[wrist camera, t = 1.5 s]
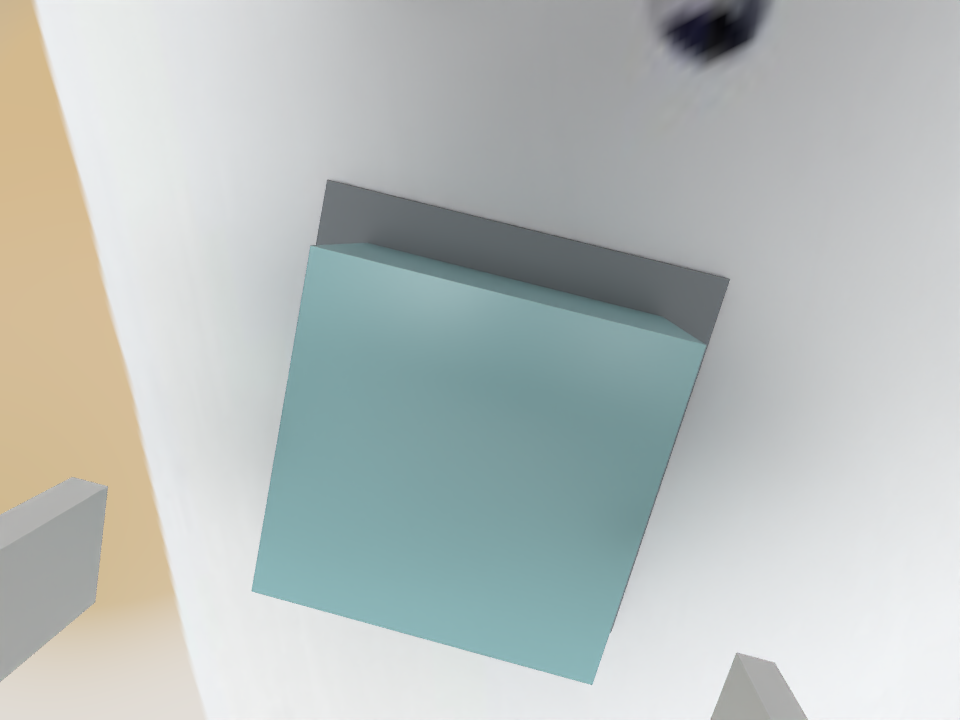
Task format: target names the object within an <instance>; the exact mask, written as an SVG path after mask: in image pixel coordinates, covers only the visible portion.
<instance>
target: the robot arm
mask: <svg viewBox="0 0 960 720" xmlns="http://www.w3.org/2000/svg"><path fill="white" fill-rule="evenodd" d="M107 489H108V486H105V485H101V484H97V483H93V482H89V481H86V480H82V479H78V478H74V477H71V478H69V479H68V480H66V481H64V482H62V483H60V484H58V485H56V486H54V487H52V488H50V489H48V490H46V491H45V492H43V493H41V494H39V495H37V496H35V497H33V498H31V499H29V500H27V501H26V502H24V503H22V504H20V505H18V506H16V507H14V508H12V509H10V510H8V511H6V512H5V513H3V514H1V515H0V682H1V681H2V680H3V679H4V678H6V677H7V676H8V675H9V674H10V673H11V672H13V671H14V670H15V669H16V668H17V667H19V666H20V665H21V664H22V663H23V662H25V661H26V660H27V659H28V658H29V657H31V656H32V655H33V654H34V653H35V652H36V651H38V650H39V649H40V648H41V647H42V646H43V645H45V644H46V643H47V642H48V641H50V640H51V639H52V638H53V637H54V636H56V635H57V634H58V633H59V632H60V631H61V630H63V629H64V628H65V627H66V626H67V625H69V624H70V623H71V622H72V621H73V620H75V619H76V618H77V617H78V616H79V615H80V614H82V612H84V611H85V610H86V609H88V608H89V607H90V606H91V605H92V604H94V603H95V599H96V590H97V589H96V588H97V580H98V572H99V562H100V552H101V544H102V535H103V525H104V516H105V508H106V498H107ZM711 720H808V719H807V717H806V716H805V714H804V712H803V710H802V709H801V707H800V705H799V704H798V702H797V700H796V698H795V697H794V695H793V693H792V692H791V690H790V688H789V686H788V685H787V683H786V681H785V680H784V678H783V676H782V674H781V673H780V671H779V669H778V668H777V666H776V664H775V663H774V662H770V661H767V660H763V659H759V658H755V657H751V656H748V655H744V654H740V653H736V656H735V658H734V661H733V663H732V666H731V669H730V671H729V674H728V676H727V679H726V681H725V684H724V686H723V689H722V692H721V694H720V697H719V699H718V702H717V704H716V707H715V710H714V712H713V715H712V717H711Z"/></svg>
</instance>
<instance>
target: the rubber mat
mask: <svg viewBox="0 0 960 720" xmlns="http://www.w3.org/2000/svg"><path fill="white" fill-rule="evenodd" d="M352 243H370V244H374V245H378V246H382V247H386V248H390V249H394V250H398V251H402V252H406V253H410V254H414V255H418V256H422V257H426V258H430V259H434V260H438V261H442V262H446V263H450V264H454V265H458V266H462V267H466V268H470V269H474V270H478V271H482V272H486V273H490V274H494V275H498V276H502V277H506V278H510V279H514V280H518V281H522V282H526V283H530V284H534V285H538V286H542V287H546V288H550V289H554V290H558V291H562V292H566V293H570V294H574V295H578V296H582V297H586V298H590V299H594V300H598V301H602V302H606V303H610V304H614V305H618V306H622V307H626V308H630V309H634V310H638V311H642V312H646V313H650V314H654V315H658V316H662V317H664V318H665V319H667V320H668V321H670V322H672V323H673V324H675V325H676V326H678V327H679V328H681V329H682V330H684V331H685V332H687V333H689V334H690V335H692V336H693V337H695V338H696V339H698V340H699V341H701V342H703V343H704V344H706V348H705V351H704V354H703V357H702V360H701V363H700V366H699V369H698V372H697V375H696V378H695V381H694V384H693V387H694V385H695V382H696V379H697V376H698V373H699V370H700V367H701V364H702V361H703V358H704V355H705V352H706V349H707V346H708V343H709V340H710V337H711V334H712V331H713V328H714V325H715V322H716V319H717V316H718V313H719V310H720V307H721V304H722V301H723V298H724V295H725V292H726V290H727V287H728V284H729V281H730V279H728V278H724V277H720V276H715V275H711V274H707V273H703V272H699V271H695V270H691V269H687V268H683V267H679V266H675V265H671V264H667V263H663V262H659V261H655V260H651V259H647V258H643V257H638V256H634V255H630V254H626V253H622V252H618V251H614V250H610V249H606V248H602V247H598V246H594V245H590V244H586V243H582V242H578V241H574V240H570V239H566V238H561V237H557V236H553V235H549V234H545V233H541V232H537V231H533V230H529V229H525V228H521V227H517V226H513V225H509V224H505V223H501V222H497V221H493V220H488V219H484V218H480V217H476V216H472V215H468V214H464V213H460V212H456V211H452V210H448V209H444V208H440V207H436V206H432V205H428V204H424V203H420V202H416V201H411V200H407V199H403V198H399V197H395V196H391V195H387V194H383V193H379V192H375V191H371V190H367V189H363V188H359V187H355V186H351V185H347V184H343V183H339V182H334V181H330V180H327V184H326V190H325V196H324V201H323V207H322V213H321V219H320V225H319V230H318V236H317V242H316V245H332V244H352ZM693 387H692V390H693ZM692 390H691V393H692ZM691 393H690V396H691ZM690 396H689V399H690ZM689 399H688V402H689ZM688 402H687V405H688ZM687 405H686V408H687ZM686 408H685V411H686ZM685 411H684V414H685ZM684 414H683V417H684ZM683 417H682V419H681V422H680V425H679V428H678V431H677V434H676V437H675V440H674V443H673V446H672V449H671V452H670V455H669V458H668V461H667V464H666V467H665V470H664V473H663V476H662V479H661V482H662V480H663V477H664V474H665V471H666V468H667V465H668V462H669V459H670V456H671V453H672V450H673V447H674V444H675V441H676V438H677V435H678V432H679V429H680V426H681V423H682V420H683ZM661 482H660V485H661ZM660 485H659V488H660ZM659 488H658V491H659ZM658 491H657V494H658ZM657 494H656V497H657ZM656 497H655V500H656ZM655 500H654V503H655ZM654 503H653V506H654ZM653 506H652V509H653ZM652 509H651V512H652ZM651 512H650V515H651ZM650 515H649V518H650ZM649 518H648V521H649ZM648 521H647V524H648ZM647 524H646V527H647ZM646 527H645V529H644V532H643V535H642V538H641V541H640V544H639V547H638V550H637V553H636V556H635V559H634V562H633V565H632V568H631V571H630V574H629V577H630V575H631V572H632V569H633V566H634V563H635V560H636V557H637V554H638V551H639V548H640V545H641V542H642V539H643V536H644V533H645V530H646ZM629 577H628V580H629ZM628 580H627V583H628ZM627 583H626V586H627ZM626 586H625V589H626ZM625 589H624V592H625ZM624 592H623V595H624ZM623 595H622V598H623ZM622 598H621V601H622ZM621 601H620V604H621ZM620 604H619V607H620ZM619 607H618V610H619ZM618 610H617V613H618ZM617 613H616V616H617ZM616 616H615V619H616ZM615 619H614V622H615ZM614 622H613V625H614ZM613 625H612V628H613ZM612 628H611V631H612ZM611 631H610V633H611Z"/></svg>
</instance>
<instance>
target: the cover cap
mask: <svg viewBox="0 0 960 720" xmlns="http://www.w3.org/2000/svg"><path fill="white" fill-rule="evenodd" d="M705 348H706V344H704V343H703V342H701V341H699V340H698V339H696V338H695V337H693V336H692V335H690V334H689V333H687V332H685V331H684V330H682V329H681V328H679V327H678V326H676V325H675V324H673V323H672V322H670V321H668V320H667V319H665V318H664V317H662V316H658V315H654V314H650V313H646V312H642V311H638V310H634V309H630V308H626V307H622V306H618V305H614V304H610V303H606V302H602V301H598V300H594V299H590V298H586V297H582V296H578V295H574V294H570V293H566V292H562V291H558V290H554V289H550V288H546V287H542V286H538V285H534V284H530V283H526V282H522V281H518V280H514V279H510V278H506V277H502V276H498V275H494V274H490V273H486V272H482V271H478V270H474V269H470V268H466V267H462V266H458V265H454V264H450V263H446V262H442V261H438V260H434V259H430V258H426V257H422V256H418V255H414V254H410V253H406V252H402V251H398V250H394V249H390V248H386V247H382V246H378V245H374V244H370V243H352V244H332V245H312V246H310V252H309V258H308V264H307V270H306V276H305V281H304V287H303V293H302V299H301V305H300V311H299V317H298V322H297V328H296V334H295V340H294V346H293V352H292V358H291V363H290V369H289V375H288V381H287V387H286V393H285V399H284V404H283V410H282V416H281V422H280V428H279V434H278V440H277V445H276V451H275V457H274V463H273V469H272V475H271V481H270V486H269V492H268V498H267V504H266V510H265V516H264V522H263V527H262V533H261V539H260V545H259V551H258V557H257V563H256V569H255V574H254V580H253V586H252V592H256V593H260V594H263V595H267V596H271V597H274V598H278V599H281V600H285V601H289V602H292V603H296V604H300V605H303V606H307V607H311V608H314V609H318V610H321V611H325V612H329V613H332V614H336V615H340V616H343V617H347V618H351V619H354V620H358V621H361V622H365V623H369V624H372V625H376V626H380V627H383V628H387V629H391V630H394V631H398V632H401V633H405V634H409V635H412V636H416V637H420V638H423V639H427V640H431V641H434V642H438V643H441V644H445V645H449V646H452V647H456V648H460V649H463V650H467V651H471V652H474V653H478V654H481V655H485V656H489V657H492V658H496V659H500V660H503V661H507V662H511V663H514V664H518V665H521V666H525V667H529V668H532V669H536V670H540V671H543V672H547V673H551V674H554V675H558V676H561V677H565V678H569V679H572V680H576V681H580V682H583V683H587V684H591V685H592V684H593V681H594V678H595V675H596V672H597V669H598V666H599V663H600V660H601V657H602V654H603V651H604V648H605V645H606V642H607V639H608V637H609V634H610V631H611V628H612V625H613V622H614V619H615V616H616V613H617V610H618V607H619V604H620V601H621V598H622V595H623V592H624V589H625V586H626V583H627V580H628V577H629V574H630V571H631V568H632V565H633V562H634V559H635V556H636V553H637V550H638V547H639V544H640V541H641V538H642V535H643V532H644V529H645V527H646V524H647V521H648V518H649V515H650V512H651V509H652V506H653V503H654V500H655V497H656V494H657V491H658V488H659V485H660V482H661V479H662V476H663V473H664V470H665V467H666V464H667V461H668V458H669V455H670V452H671V449H672V446H673V443H674V440H675V437H676V434H677V431H678V428H679V425H680V422H681V419H682V417H683V414H684V411H685V408H686V405H687V402H688V399H689V396H690V393H691V390H692V387H693V384H694V381H695V378H696V375H697V372H698V369H699V366H700V363H701V360H702V357H703V354H704V351H705Z"/></svg>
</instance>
